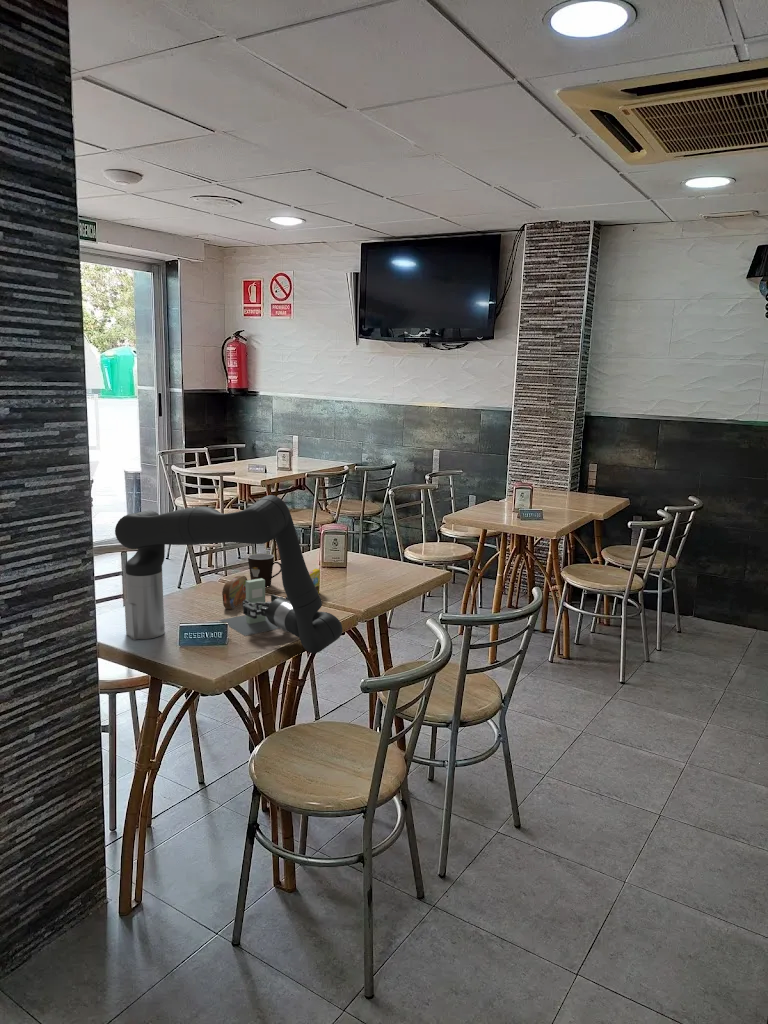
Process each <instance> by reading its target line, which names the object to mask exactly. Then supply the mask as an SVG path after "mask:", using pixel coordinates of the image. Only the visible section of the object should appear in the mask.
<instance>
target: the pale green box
mask: <svg viewBox="0 0 768 1024" xmlns="http://www.w3.org/2000/svg"><path fill="white" fill-rule="evenodd" d="M247 580H248V581H246V600H248V601H250V602H252V603H257V602H266V588H265V580H264V579H262V578H260V579H254V580H251V579H247ZM253 607H254V608H255V606H253ZM261 607H262V605H260V609H261ZM262 621H266V616H262V615H257V618H256V619H253V618H251V617H249V616H247V615H246V622H247V623H249V624H252V623H257V622H262Z"/></svg>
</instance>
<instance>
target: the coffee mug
mask: <svg viewBox="0 0 768 1024" xmlns="http://www.w3.org/2000/svg"><path fill="white" fill-rule="evenodd" d="M274 558H275V555H274V554H271V553H253V554H249V555H248V556H247V562H248V569H249V576H250V580H254V579H260V578H262V579H264V580H265V587H266V588H268V587H267V586H270V585H272V579H273V578H275V577H277V576H278V575H279V574H281V562H279V561H274ZM275 564H278V565H279V567H280V570H279V571H278V572H277V573H276V574H273V567H274V565H275ZM270 587H271V586H270Z"/></svg>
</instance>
